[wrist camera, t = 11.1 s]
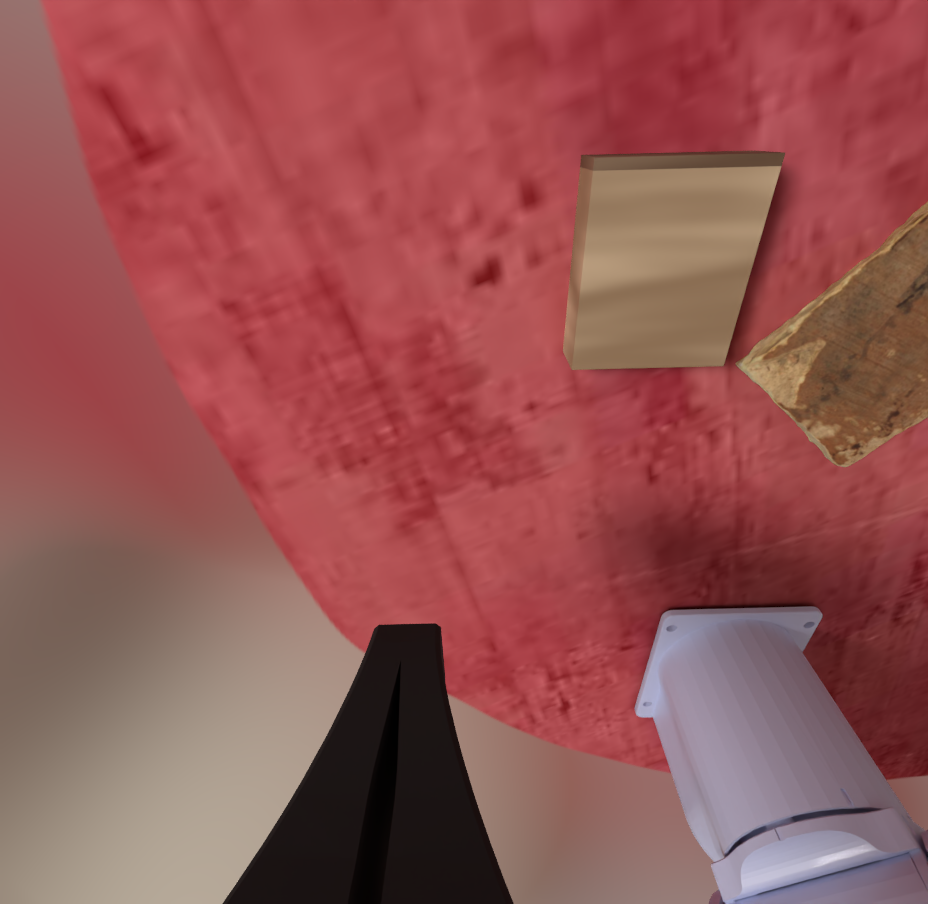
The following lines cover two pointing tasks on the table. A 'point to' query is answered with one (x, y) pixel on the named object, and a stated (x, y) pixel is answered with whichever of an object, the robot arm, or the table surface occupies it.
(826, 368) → the shard
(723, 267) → the oak slab
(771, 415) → the table surface
